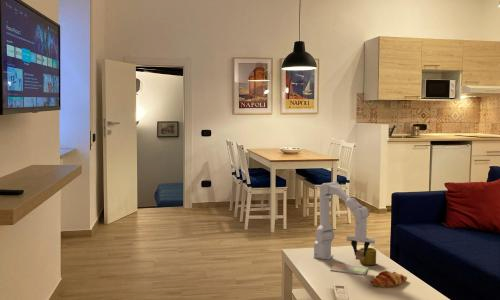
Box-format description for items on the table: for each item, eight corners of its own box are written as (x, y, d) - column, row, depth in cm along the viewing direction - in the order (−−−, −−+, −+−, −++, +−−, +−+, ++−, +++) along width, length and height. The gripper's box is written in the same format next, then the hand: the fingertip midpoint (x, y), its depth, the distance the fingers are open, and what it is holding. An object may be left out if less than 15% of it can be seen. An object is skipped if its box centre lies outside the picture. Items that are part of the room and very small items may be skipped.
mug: (381, 263, 250) (375, 245, 252) (363, 269, 251) (357, 251, 252) (377, 260, 263) (371, 243, 264) (360, 266, 263) (354, 248, 264)
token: (356, 257, 247) (357, 249, 246) (364, 257, 245) (364, 250, 245) (355, 259, 243) (355, 251, 243) (363, 260, 241) (363, 252, 241)
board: (330, 270, 245) (330, 269, 245) (334, 264, 255) (334, 262, 255) (365, 275, 238) (365, 273, 238) (368, 268, 249) (368, 267, 248)
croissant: (402, 285, 234) (398, 269, 237) (415, 283, 225) (410, 266, 228) (367, 291, 226) (363, 274, 229) (378, 288, 218) (374, 271, 220)
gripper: (345, 230, 242) (344, 256, 243) (374, 233, 236) (373, 259, 238) (348, 227, 248) (347, 252, 250) (375, 230, 243) (375, 255, 244)
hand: (360, 255), depth 244 cm, fingers closed on token, 4 cm apart
